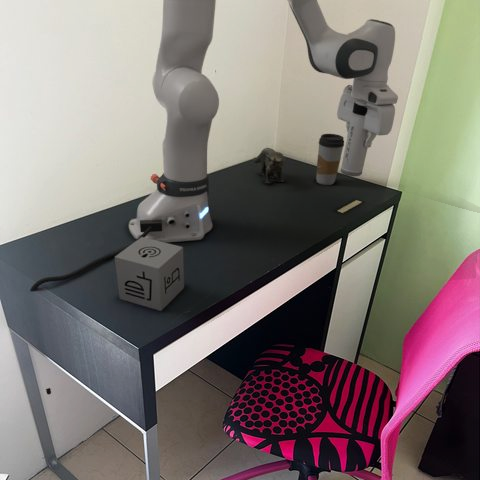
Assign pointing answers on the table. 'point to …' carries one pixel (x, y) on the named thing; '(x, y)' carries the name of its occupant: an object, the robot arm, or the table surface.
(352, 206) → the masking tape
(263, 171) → the toy dinosaur
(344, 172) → the travel mug
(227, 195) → the table surface
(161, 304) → the icon cube
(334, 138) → the coffee cup
